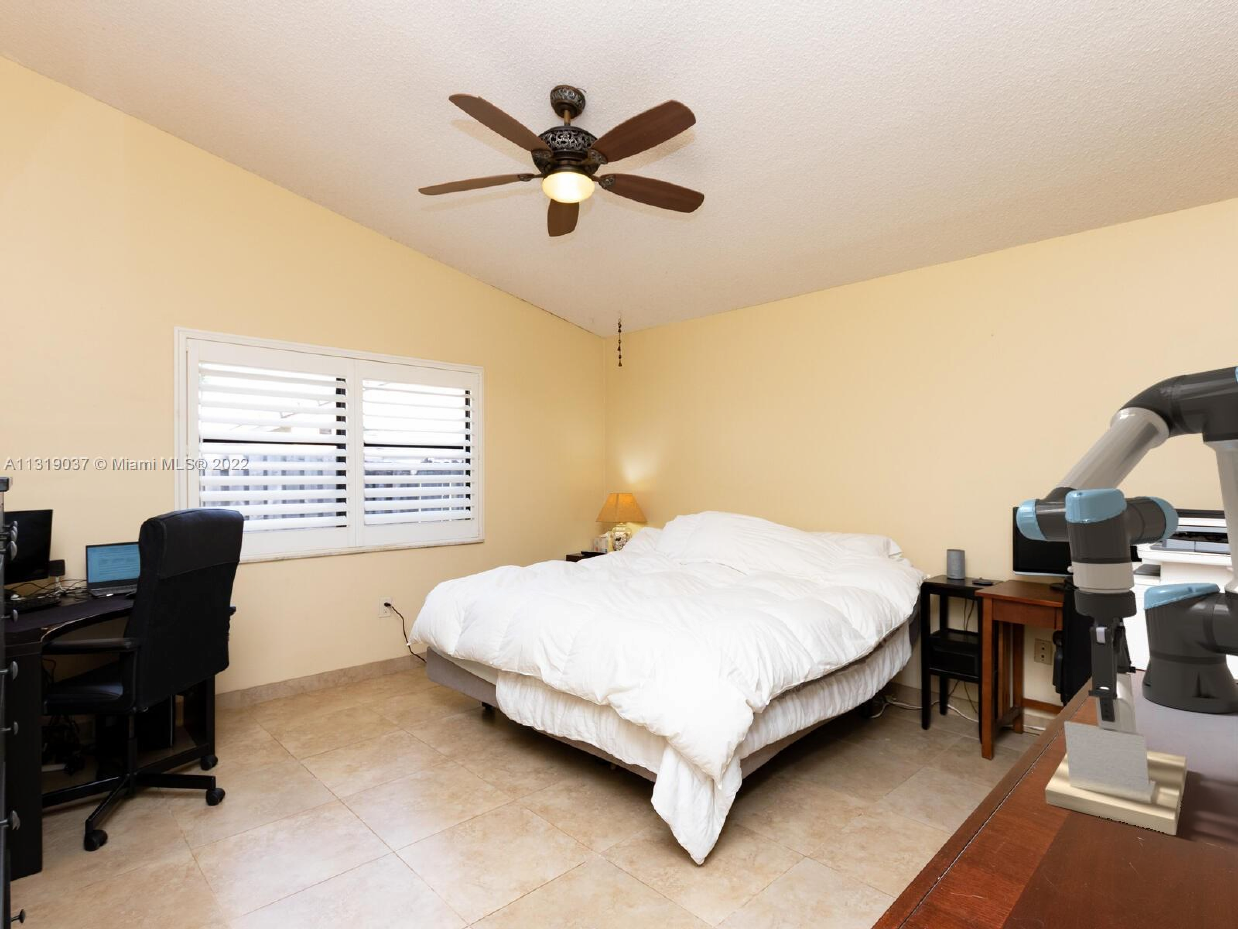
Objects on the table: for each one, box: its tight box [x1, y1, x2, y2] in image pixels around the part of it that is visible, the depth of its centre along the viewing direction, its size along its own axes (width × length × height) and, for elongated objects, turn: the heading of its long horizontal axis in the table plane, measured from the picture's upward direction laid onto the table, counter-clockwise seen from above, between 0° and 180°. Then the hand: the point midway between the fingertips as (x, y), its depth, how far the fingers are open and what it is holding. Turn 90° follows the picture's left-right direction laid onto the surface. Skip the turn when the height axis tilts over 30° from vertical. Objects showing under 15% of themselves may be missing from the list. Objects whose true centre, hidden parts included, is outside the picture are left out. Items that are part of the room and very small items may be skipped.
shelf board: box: [1044, 749, 1188, 836], centre depth 95 cm, size 24×14×2 cm, turn 135°
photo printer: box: [1101, 681, 1137, 733], centre depth 97 cm, size 10×4×12 cm, turn 147°
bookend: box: [1063, 720, 1156, 805], centre depth 91 cm, size 7×9×9 cm
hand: (1118, 728), depth 97 cm, fingers open, 13 cm apart
